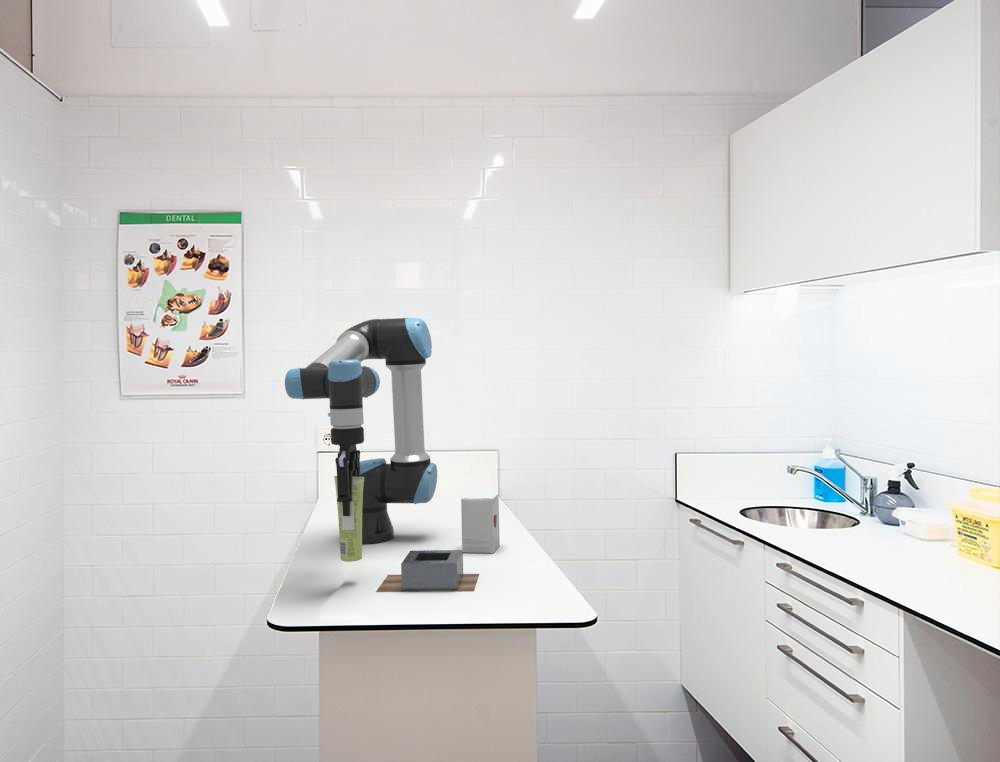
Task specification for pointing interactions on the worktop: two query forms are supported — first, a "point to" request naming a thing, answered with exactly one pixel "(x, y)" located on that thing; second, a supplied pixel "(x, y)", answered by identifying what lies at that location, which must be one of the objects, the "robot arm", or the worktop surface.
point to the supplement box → (480, 522)
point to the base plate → (395, 585)
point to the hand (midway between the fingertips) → (351, 526)
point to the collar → (432, 570)
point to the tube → (353, 538)
